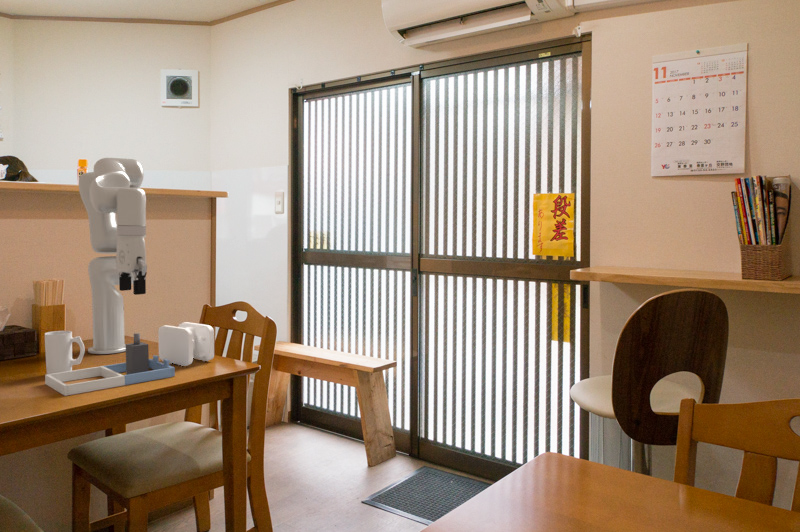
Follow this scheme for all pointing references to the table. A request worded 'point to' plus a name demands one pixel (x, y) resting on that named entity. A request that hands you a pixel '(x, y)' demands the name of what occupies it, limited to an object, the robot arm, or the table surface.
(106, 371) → the shallow tray
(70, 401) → the table surface
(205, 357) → the cable organizer
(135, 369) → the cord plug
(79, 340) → the mug
